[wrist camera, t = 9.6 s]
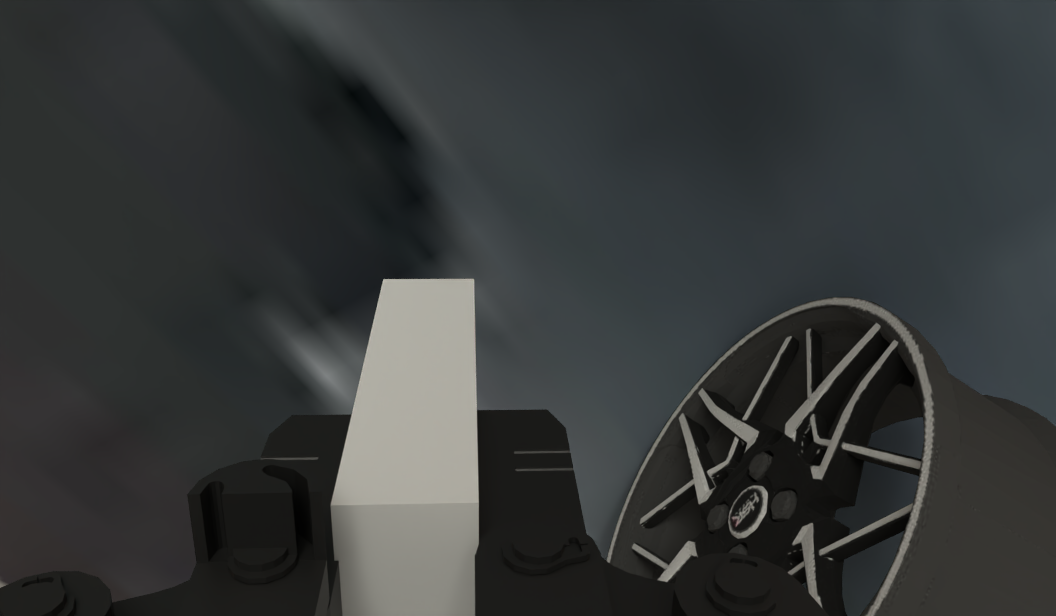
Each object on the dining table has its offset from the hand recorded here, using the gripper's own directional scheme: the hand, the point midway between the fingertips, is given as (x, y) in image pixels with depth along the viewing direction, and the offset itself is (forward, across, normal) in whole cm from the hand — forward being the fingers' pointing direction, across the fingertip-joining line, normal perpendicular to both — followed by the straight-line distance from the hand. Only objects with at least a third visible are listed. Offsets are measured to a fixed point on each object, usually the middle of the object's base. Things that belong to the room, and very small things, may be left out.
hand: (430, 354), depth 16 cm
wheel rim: (+28, +16, -18) cm, 37 cm away
